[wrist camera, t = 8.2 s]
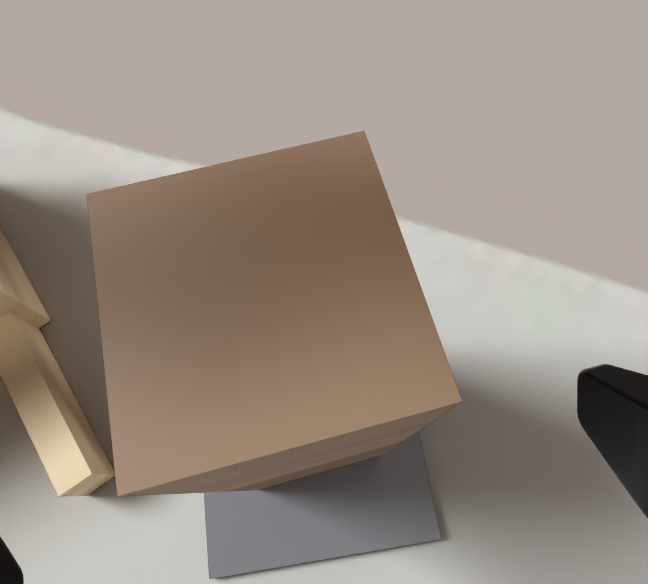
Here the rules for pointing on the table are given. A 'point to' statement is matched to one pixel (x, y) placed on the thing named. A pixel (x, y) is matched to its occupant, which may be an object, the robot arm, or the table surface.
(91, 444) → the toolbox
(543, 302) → the table surface
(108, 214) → the walnut block
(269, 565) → the felt mat
